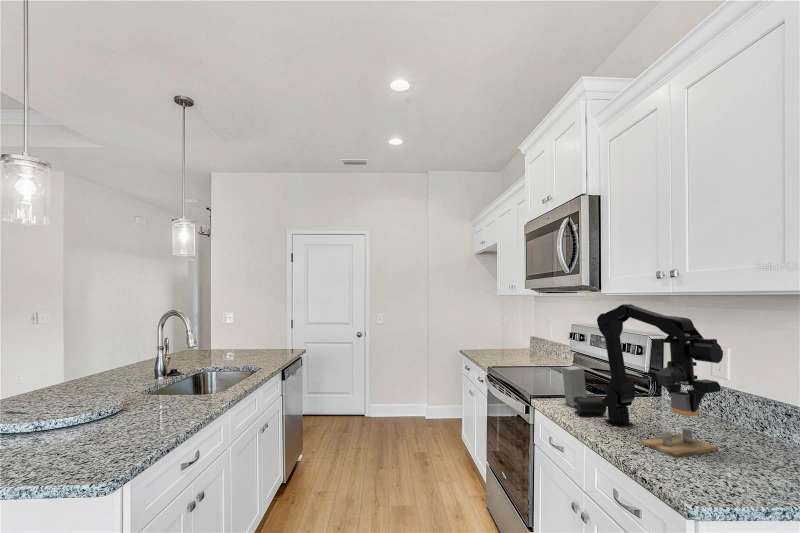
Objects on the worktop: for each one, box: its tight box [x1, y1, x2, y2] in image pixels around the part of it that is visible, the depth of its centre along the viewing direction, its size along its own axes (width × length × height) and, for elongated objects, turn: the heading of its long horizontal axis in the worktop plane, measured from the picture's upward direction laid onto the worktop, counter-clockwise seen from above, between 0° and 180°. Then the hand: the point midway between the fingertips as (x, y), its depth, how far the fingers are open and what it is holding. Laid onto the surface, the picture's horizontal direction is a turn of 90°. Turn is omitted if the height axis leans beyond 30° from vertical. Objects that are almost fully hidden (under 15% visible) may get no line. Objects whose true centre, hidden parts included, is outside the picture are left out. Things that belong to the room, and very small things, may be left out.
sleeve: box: [669, 390, 700, 418], centre depth 125 cm, size 5×5×6 cm
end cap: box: [573, 395, 608, 416], centre depth 158 cm, size 10×7×7 cm
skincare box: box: [561, 365, 588, 408], centre depth 172 cm, size 8×7×16 cm
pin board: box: [639, 428, 719, 459], centre depth 123 cm, size 12×16×4 cm
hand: (685, 409), depth 125 cm, fingers closed on sleeve, 5 cm apart
